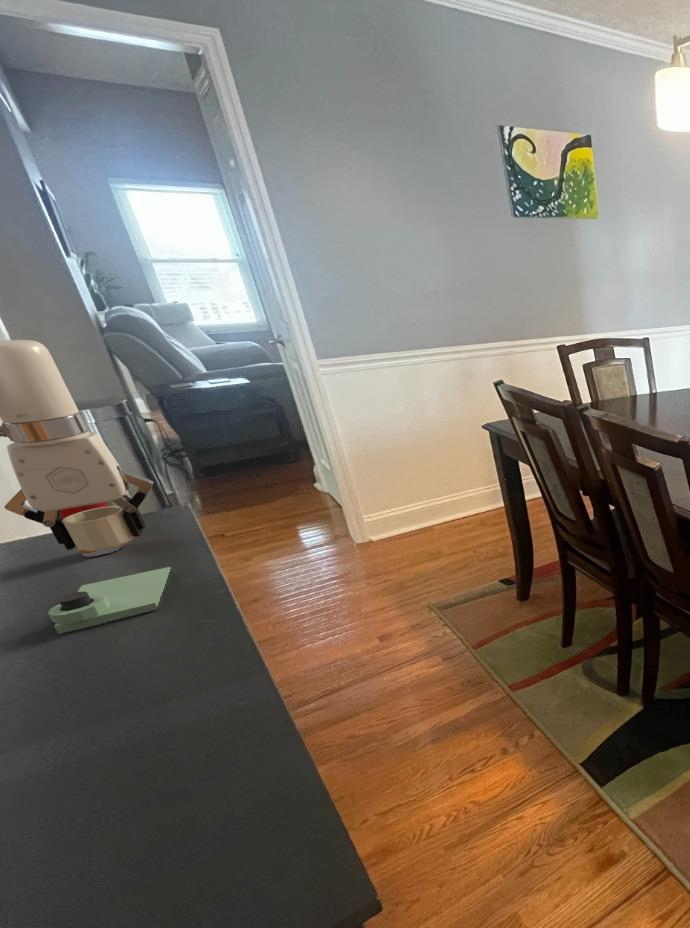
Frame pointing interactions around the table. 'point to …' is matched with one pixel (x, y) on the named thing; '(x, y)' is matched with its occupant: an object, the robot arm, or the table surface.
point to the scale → (113, 600)
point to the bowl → (98, 528)
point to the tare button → (75, 601)
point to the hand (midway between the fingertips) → (106, 539)
